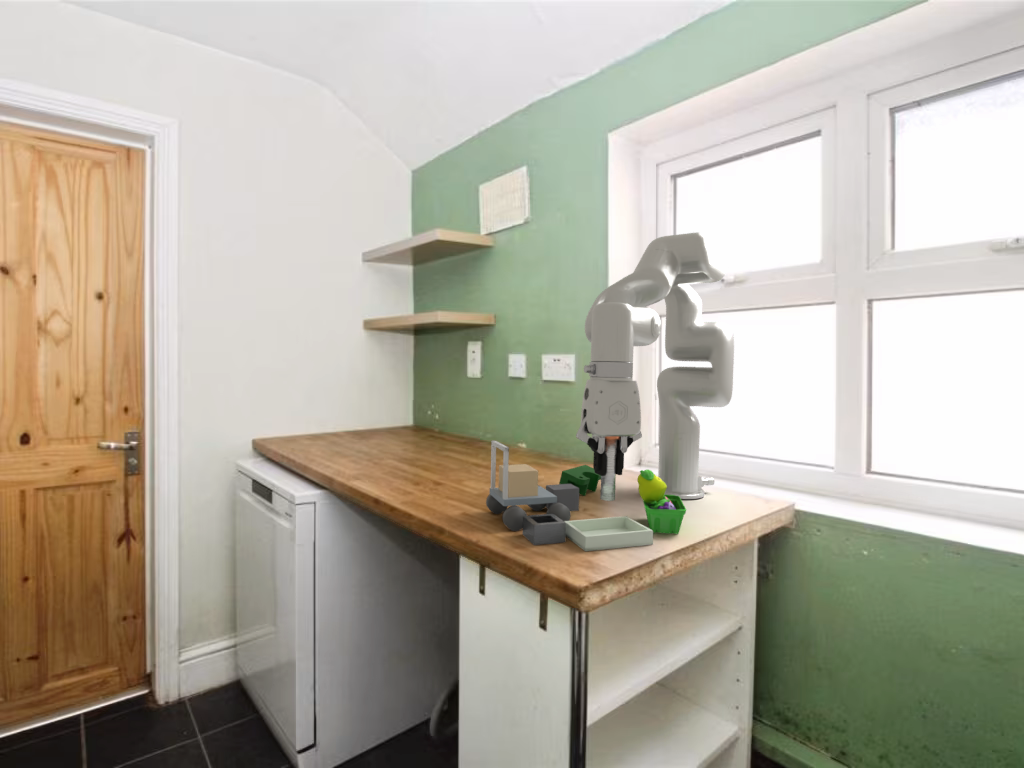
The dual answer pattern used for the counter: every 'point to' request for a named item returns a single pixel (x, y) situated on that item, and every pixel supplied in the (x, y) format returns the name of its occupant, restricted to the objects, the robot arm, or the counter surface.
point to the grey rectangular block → (565, 495)
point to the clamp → (581, 478)
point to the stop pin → (609, 469)
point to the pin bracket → (544, 529)
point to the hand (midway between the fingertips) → (608, 473)
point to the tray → (608, 533)
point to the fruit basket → (660, 504)
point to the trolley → (519, 492)
